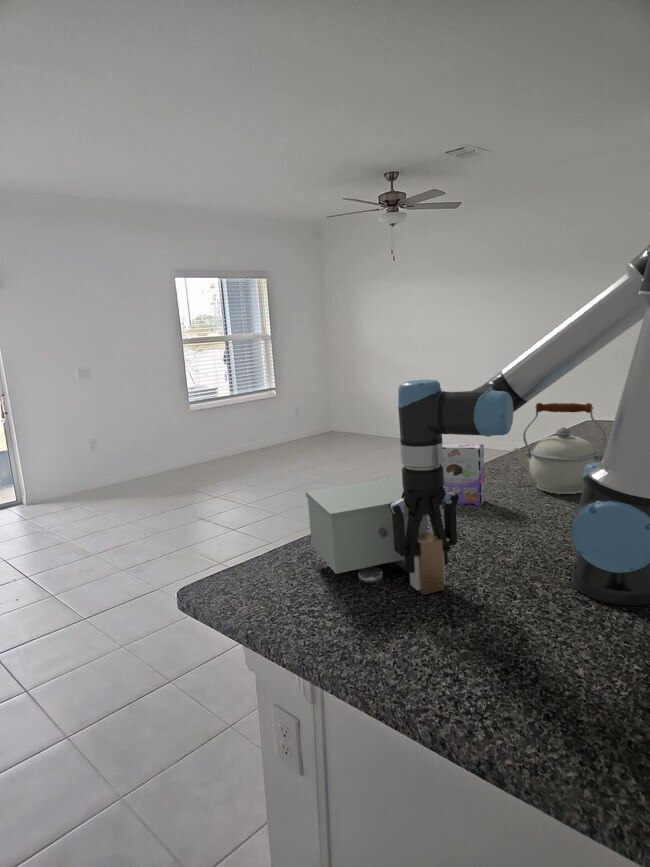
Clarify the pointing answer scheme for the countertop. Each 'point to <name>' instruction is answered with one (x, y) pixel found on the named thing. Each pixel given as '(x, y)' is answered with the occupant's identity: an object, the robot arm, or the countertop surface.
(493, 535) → the countertop surface
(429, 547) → the block
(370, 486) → the cabinet
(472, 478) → the candy box
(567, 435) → the kettle
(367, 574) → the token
